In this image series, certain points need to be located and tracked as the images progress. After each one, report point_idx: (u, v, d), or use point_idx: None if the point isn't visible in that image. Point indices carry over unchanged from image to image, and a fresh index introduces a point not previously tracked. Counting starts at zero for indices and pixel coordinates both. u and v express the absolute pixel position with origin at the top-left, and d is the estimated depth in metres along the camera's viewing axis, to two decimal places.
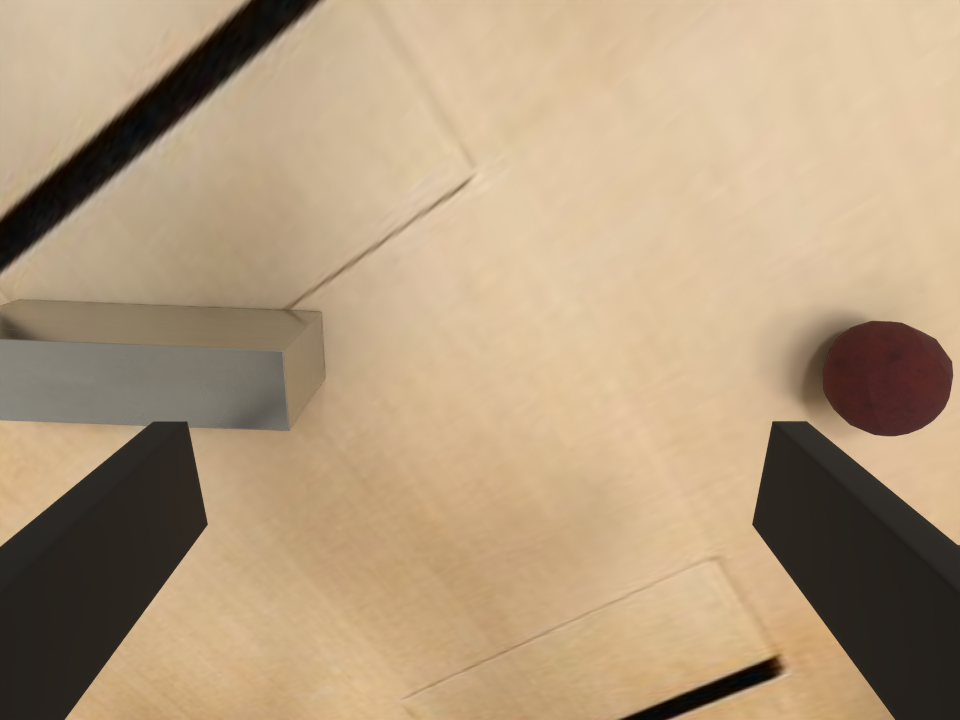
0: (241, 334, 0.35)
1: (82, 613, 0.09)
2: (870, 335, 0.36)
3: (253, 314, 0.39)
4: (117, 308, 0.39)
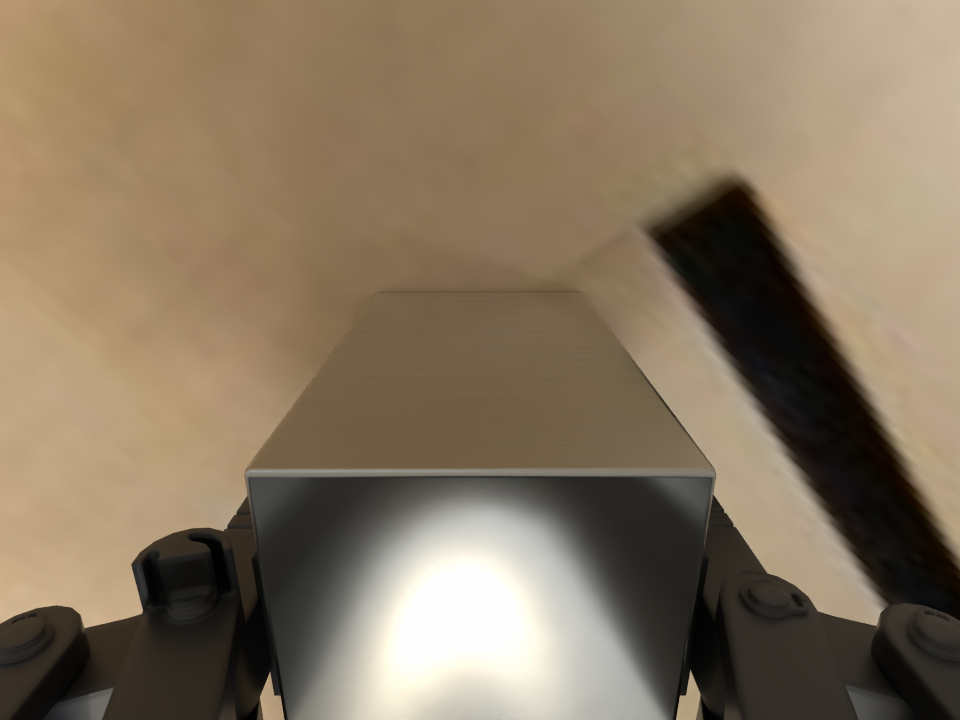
0: None
1: None
2: None
3: None
4: None
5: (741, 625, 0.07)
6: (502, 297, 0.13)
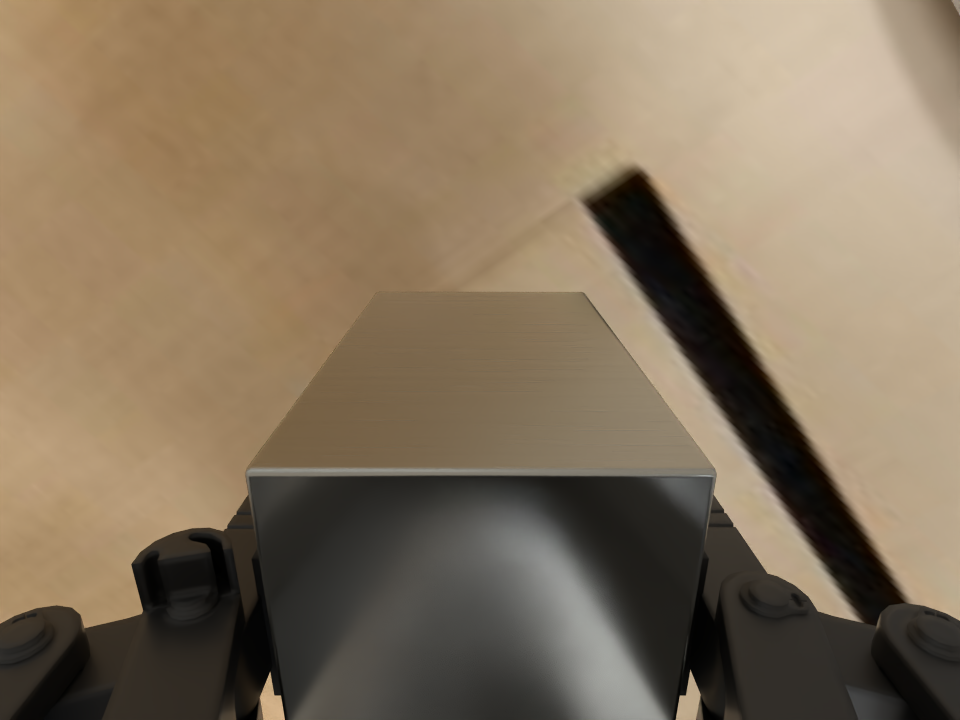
0: None
1: None
2: None
3: None
4: None
5: (741, 625, 0.07)
6: (502, 297, 0.13)
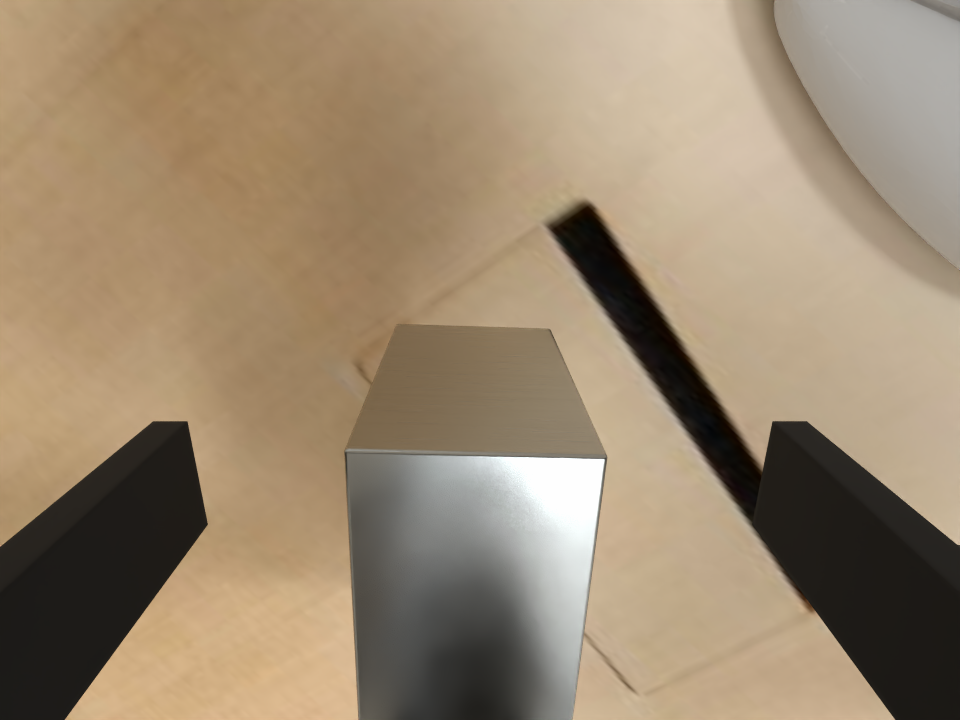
0: None
1: (83, 612, 0.09)
2: None
3: None
4: None
5: None
6: (490, 331, 0.18)
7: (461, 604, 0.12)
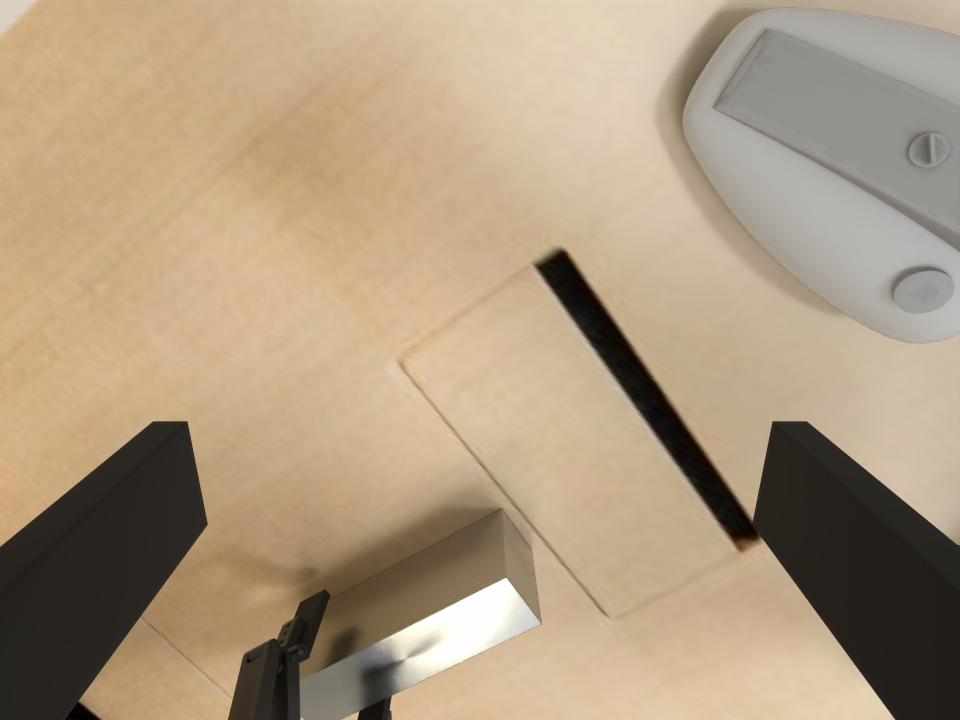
0: None
1: (83, 612, 0.09)
2: None
3: None
4: None
5: None
6: (521, 538, 0.49)
7: (479, 620, 0.42)
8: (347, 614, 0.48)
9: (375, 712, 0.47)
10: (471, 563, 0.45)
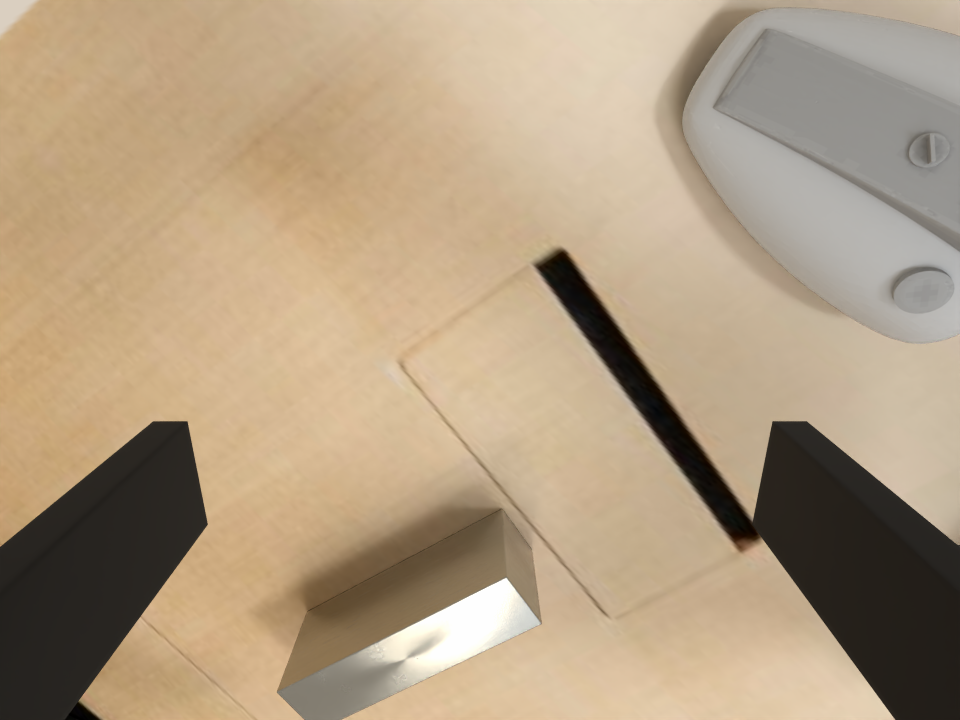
0: None
1: (83, 612, 0.09)
2: None
3: None
4: None
5: None
6: (521, 538, 0.49)
7: (479, 620, 0.42)
8: (347, 614, 0.48)
9: None
10: (471, 563, 0.45)
